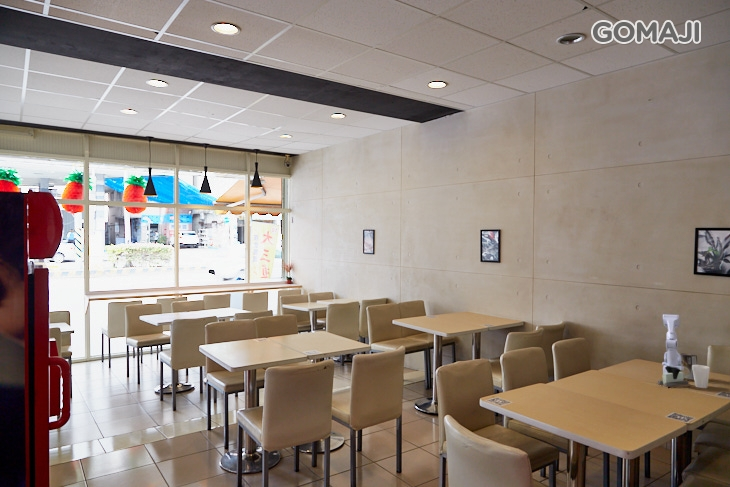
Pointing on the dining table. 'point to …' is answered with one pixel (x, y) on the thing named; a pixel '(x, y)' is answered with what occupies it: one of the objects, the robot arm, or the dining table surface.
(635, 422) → the dining table surface
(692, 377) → the coffee box
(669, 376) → the door panel
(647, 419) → the dining table surface
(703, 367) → the foam cup
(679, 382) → the bottom track
